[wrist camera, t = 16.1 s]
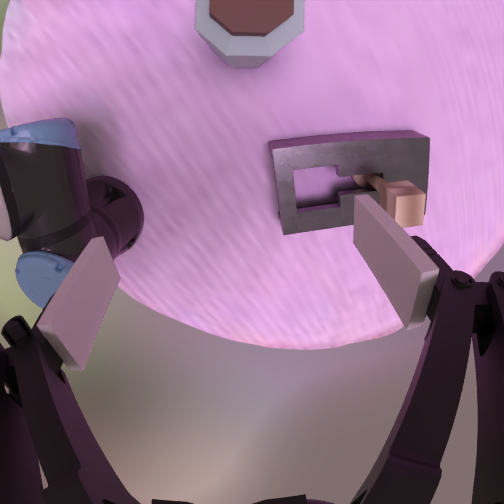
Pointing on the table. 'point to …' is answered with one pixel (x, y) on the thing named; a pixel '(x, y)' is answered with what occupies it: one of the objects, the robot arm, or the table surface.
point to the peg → (397, 198)
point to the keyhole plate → (346, 171)
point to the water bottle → (248, 28)
